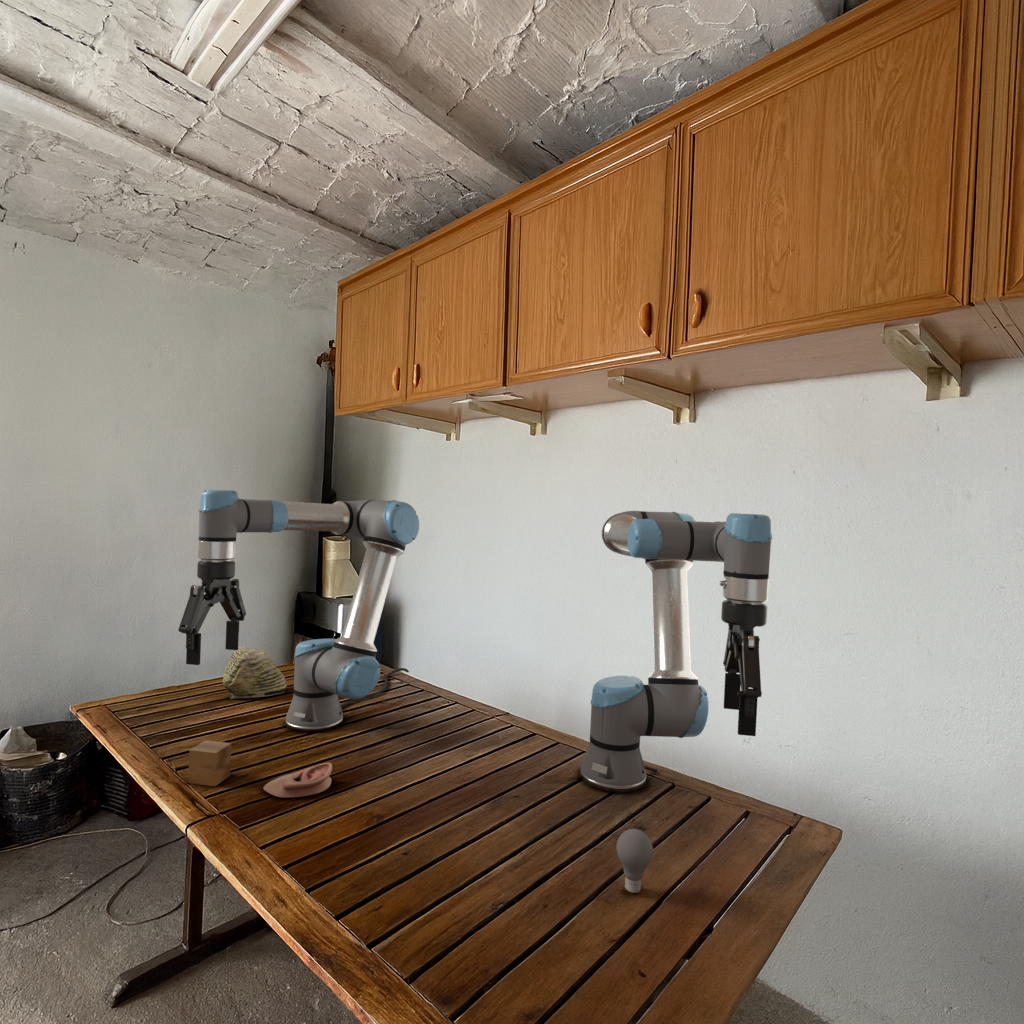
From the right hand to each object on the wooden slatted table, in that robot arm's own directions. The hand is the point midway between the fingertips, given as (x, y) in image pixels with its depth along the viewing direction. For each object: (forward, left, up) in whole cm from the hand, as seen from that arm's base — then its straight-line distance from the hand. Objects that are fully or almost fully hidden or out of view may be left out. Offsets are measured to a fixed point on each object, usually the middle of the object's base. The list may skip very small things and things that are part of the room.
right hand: (738, 721), depth 112 cm
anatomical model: (+66, -60, -27) cm, 93 cm away
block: (+84, -70, -27) cm, 112 cm away
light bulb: (+20, -2, -27) cm, 34 cm away
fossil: (+71, -129, -27) cm, 150 cm away
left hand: (+84, -70, 0) cm, 109 cm away
